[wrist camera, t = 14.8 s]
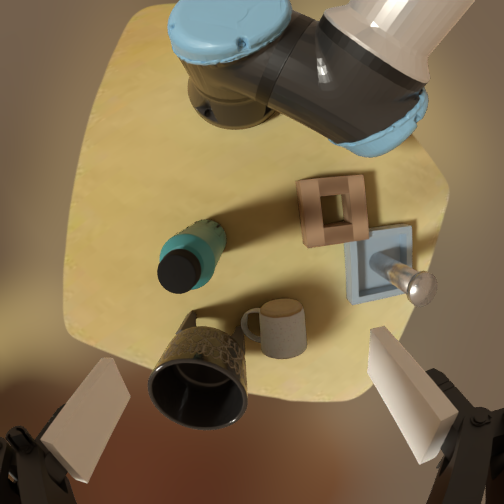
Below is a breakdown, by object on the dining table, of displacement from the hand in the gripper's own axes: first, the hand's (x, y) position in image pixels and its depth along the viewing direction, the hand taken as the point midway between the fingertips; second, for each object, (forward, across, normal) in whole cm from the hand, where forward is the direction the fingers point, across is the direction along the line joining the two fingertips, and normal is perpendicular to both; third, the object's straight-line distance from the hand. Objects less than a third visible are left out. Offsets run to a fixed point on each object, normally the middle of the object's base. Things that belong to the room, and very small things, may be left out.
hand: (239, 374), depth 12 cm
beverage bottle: (+33, -6, +2) cm, 34 cm away
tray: (+33, +22, -6) cm, 40 cm away
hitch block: (+33, +14, +4) cm, 36 cm away
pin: (+32, +22, -6) cm, 39 cm away
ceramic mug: (+33, +2, -14) cm, 36 cm away
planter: (+33, -8, -15) cm, 37 cm away
